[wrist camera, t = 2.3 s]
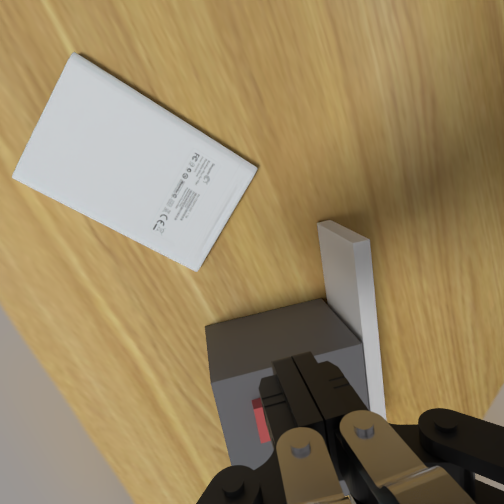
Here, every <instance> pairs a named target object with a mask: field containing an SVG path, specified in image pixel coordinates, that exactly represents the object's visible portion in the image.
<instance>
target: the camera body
mask: <svg viewBox="0 0 504 504" xmlns="http://www.w3.org/2000/svg"><path fill="white" fill-rule="evenodd" d="M205 332H206V342H207V351H208V361H209V370H210V380H211V386H212V390H213V394H214V398H215V402H216V406H217V410H218V414H219V418H220V421H221V425H222V429H223V433H224V437H225V441H226V445H227V449H228V453H229V457H230V461H231V465H232V466H234V465H243V466H247V467H250V468H251V469H253V470H255V469H257V468H258V467H260V466H261V465H263V464H264V463H265V462H266V461H267V460H268V459H269V458H270V456H271V455H272V453H273V450H274V449H273V446H272V443H271V439H270V436H269V432H268V429H267V425H266V422H265V417H264V412H263V408H262V403H261V398H260V393H259V385H260V381H261V378H264V377H268V376H272V375H273V370H272V364H271V361H274V360H277V359H281V358H285V357H289V356H290V357H291V356H292V355H296V354H300V353H304V352H308V351H311V353H312V354H313V356H314V357H315V359H316V361H317V362H318V363H321V362H324V361H329V362H331V363H332V364H334V365H336V366H338V367H339V369H340V370H341V371H342V373H343V374H344V376H345V378H346V379H347V380H348V381H349V383H350V385H351V386H352V387H353V388H354V390H355V391H356V393H357V394H358V395H359V397H360V398H361V400H362V401H363V403H364V404H365V405H366V407H367V408H368V410H369V405H368V396H367V386H366V377H365V368H364V358H363V349H362V343H361V342H360V341H359V340H358V339H357V338H356V336H355V335H354V334H353V333H352V332H351V331H350V330H349V329H348V328H347V326H346V325H345V324H344V323H343V322H342V321H341V320H340V319H339V318H338V316H337V315H336V314H335V313H334V312H333V311H332V310H331V309H330V308H329V306H328V305H327V304H326V303H325V302H324V301H323V300H322V299H321V298H320V299H315V300H311V301H307V302H303V303H299V304H295V305H291V306H287V307H283V308H279V309H275V310H270V311H266V312H262V313H258V314H254V315H250V316H246V317H242V318H238V319H234V320H230V321H225V322H221V323H217V324H213V325H209V326H205ZM339 483H340V485H341V488H342V491H343V494H344V496H347V495H349V490H348V487H347V485H346V483H345V481H344V480H342V481H339Z"/></svg>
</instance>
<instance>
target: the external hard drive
mask: <svg viewBox="0 0 504 504" xmlns="http://www.w3.org/2000/svg"><path fill="white" fill-rule="evenodd" d="M257 169H258V168H257V167H256V166H254V165H252V164H251V163H249V162H248V161H246V160H245V159H243V158H241V157H240V156H238V155H237V154H235V153H234V152H232V151H230V150H229V149H227V148H226V147H224V146H222V145H221V144H219V143H218V142H216V141H215V140H213V139H212V138H210V137H208V136H207V135H205V134H204V133H202V132H201V131H199V130H197V129H196V128H194V127H193V126H191V125H190V124H188V123H186V122H185V121H183V120H182V119H180V118H179V117H177V116H175V115H174V114H172V113H171V112H169V111H167V110H166V109H164V108H163V107H161V106H160V105H158V104H156V103H155V102H153V101H152V100H150V99H149V98H147V97H145V96H144V95H142V94H141V93H139V92H138V91H136V90H134V89H133V88H131V87H130V86H128V85H126V84H125V83H123V82H122V81H120V80H119V79H117V78H115V77H114V76H112V75H110V74H109V73H107V72H106V71H104V70H102V69H101V68H99V67H98V66H96V65H95V64H93V63H91V62H90V61H88V60H87V59H85V58H83V57H82V56H80V55H79V54H77V53H75V52H73V53H72V54H71V56H70V58H69V59H68V61H67V63H66V65H65V68H64V70H63V72H62V74H61V76H60V78H59V80H58V82H57V84H56V86H55V88H54V90H53V92H52V94H51V96H50V98H49V101H48V103H47V105H46V107H45V109H44V111H43V113H42V115H41V117H40V119H39V121H38V123H37V125H36V127H35V129H34V131H33V133H32V135H31V137H30V140H29V142H28V143H27V145H26V148H25V150H24V152H23V154H22V156H21V158H20V160H19V162H18V164H17V166H16V169H15V171H14V173H13V175H12V178H13V179H15V180H17V181H19V182H21V183H23V184H25V185H27V186H29V187H31V188H32V189H34V190H36V191H38V192H40V193H42V194H44V195H46V196H48V197H50V198H52V199H54V200H56V201H58V202H60V203H62V204H64V205H66V206H68V207H70V208H72V209H74V210H76V211H78V212H80V213H82V214H84V215H86V216H88V217H90V218H92V219H93V220H95V221H97V222H99V223H101V224H103V225H105V226H107V227H109V228H111V229H113V230H115V231H117V232H119V233H121V234H123V235H125V236H127V237H129V238H131V239H133V240H135V241H137V242H139V243H140V244H142V245H144V246H146V247H148V248H150V249H152V250H154V251H156V252H158V253H160V254H162V255H164V256H166V257H168V258H170V259H172V260H174V261H176V262H178V263H180V264H182V265H184V266H186V267H188V268H189V269H192V270H193V271H195V272H197V271H198V270H199V269H200V267H201V265H202V264H203V262H204V260H205V258H206V257H207V255H208V253H209V252H210V250H211V248H212V246H213V245H214V243H215V241H216V239H217V238H218V236H219V234H220V233H221V231H222V229H223V227H224V226H225V224H226V223H227V221H228V219H229V217H230V216H231V214H232V212H233V211H234V209H235V207H236V206H237V204H238V202H239V201H240V199H241V197H242V195H243V194H244V192H245V190H246V189H247V187H248V185H249V183H250V182H251V180H252V178H253V177H254V175H255V173H256V171H257Z"/></svg>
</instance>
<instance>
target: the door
mask: <svg viewBox="0 0 504 504" xmlns="http://www.w3.org/2000/svg"><path fill="white" fill-rule="evenodd" d="M317 228H318V236H319V243H320V251H321V258H322V266H323V273H324V281H325V288H326V296H327V303H328V306H329V308H330V309H331V310H332V311H333V312H334V313H335V314H336V315H337V316H338V318H339V319H340V320H341V321H342V322H343V323H344V324H345V325H346V326H347V328H348V329H349V330H350V331H351V332H352V333H353V334H354V335H355V336H356V338H357V339H358V340H359V341H360V342H361V343H362V349H363V358H364V368H365V377H366V386H367V396H368V405H369V411H372V412H375V413H377V414H379V415H380V416H382V417H383V418H384V419H385V420H386V411H385V400H384V389H383V378H382V367H381V356H380V345H379V334H378V324H377V313H376V302H375V291H374V280H373V269H372V258H371V247H370V239H368V238H366V237H364V236H362V235H360V234H358V233H356V232H354V231H352V230H350V229H348V228H346V227H344V226H342V225H340V224H338V223H336V222H334V221H332V220H327V221H323V222H318V223H317Z"/></svg>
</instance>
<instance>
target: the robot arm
mask: <svg viewBox="0 0 504 504" xmlns="http://www.w3.org/2000/svg"><path fill="white" fill-rule="evenodd" d="M271 364H272V370H273V375H272V376H268V377H264V378H261V381H260V385H259V393H260V398H261V403H262V408H263V412H264V417H265V422H266V425H267V429H268V432H269V436H270V439H271V443H272V446H273V449H274V450H273V453H272V455H271V456H270V458H269V459H268V460H267V461H266V462H265V463H264V464H263V465H261V466H260V467H258V468H257V469H255V470H253V469H251V468H250V467H247V466H243V465H234V466H230V467H227V468H225V469H223V470H221V471H220V472H219V473H218V474H217V475H216V476H215V477H214V478H213V479H212V481H211V482H210V484H209V485H208V487H207V488H206V490H205V491H204V493H203V494H202V496H201V497H200V499H199V500H198V502H197V503H196V504H504V491H502V490H499V489H497V488H495V487H492V486H490V485H488V484H485V483H483V482H481V481H478V480H476V479H475V473H476V474H479V475H481V476H484V477H486V478H489V479H491V480H493V481H496V482H498V483H501V484H503V485H504V427H502V426H499V425H496V424H493V423H490V422H487V421H484V420H481V419H478V418H475V417H471V416H468V415H465V414H462V413H459V412H456V411H453V410H449V409H443V408H436V409H430V410H427V411H425V412H424V413H423V414H421V416H420V417H419V420H418V425H396V424H390V423H388V422H387V421H386V420H385V419H384V418H383V417H382V416H380V415H379V414H377V413H375V412H372V411H369V410H368V408H367V407H366V405H365V404H364V403H363V401H362V400H361V398H360V397H359V395H358V394H357V393H356V391H355V390H354V388H353V387H352V386H351V385H350V383H349V381H348V380H347V379H346V378H345V376H344V374H343V373H342V371H341V370H340V369H339V367H338V366H336V365H334V364H332V363H331V362H329V361H324V362H321V363H318V362H317V361H316V359H315V357H314V356H313V354H312V353H311V351H308V352H304V353H300V354H296V355H292V356H291V357H290V356H289V357H285V358H281V359H277V360H274V361H271ZM342 480H344V481H345V483H346V485H347V487H348V490H349V497H350V499H349V498H348V497H345V496H344V494H343V491H342V488H341V485H340V483H339V481H342Z"/></svg>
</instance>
